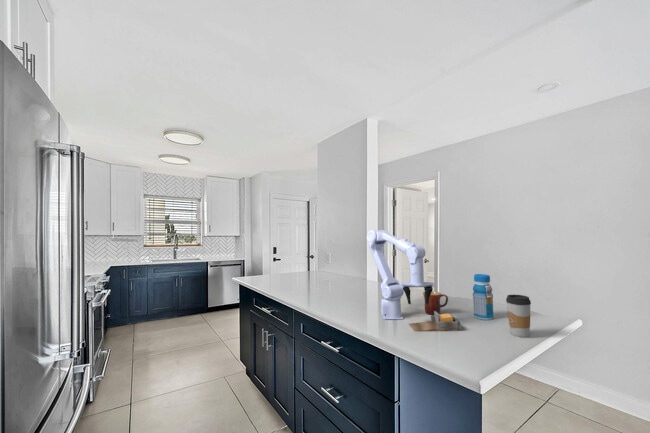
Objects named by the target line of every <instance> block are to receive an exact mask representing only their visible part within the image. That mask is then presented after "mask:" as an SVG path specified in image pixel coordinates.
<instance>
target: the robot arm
mask: <svg viewBox="0 0 650 433" xmlns="http://www.w3.org/2000/svg"><path fill="white" fill-rule="evenodd" d="M366 240H367V243H368V246H369V249H370V253H371V255H372V258H373V260H374V263H375V265H376V267H377V270H378V273H379V275H380V277H381V280H382V282H381V284H380V288H381V289H380V290H381V295H382V297H383V298H381V300H380V316H381V318H382V319H383V320H404V317H403V316H402V307H401V303H402V302H401V301H402V300H401V299H402V297H403V295H404V294H405V296H406V300H407V304H408V305H411V304H412V303H411V302H412V301H411V289H410V288H424V292H425V300H424V304H425V303H426V304H428V301H429V297H430V295H431V293H432V291H433V290H434V288H435V282H432V281H431V282H430V281H425V279H424V278H425V276H424V274H425V272H424V257H425V256H426V249H425V248H424V247H423V246H422V245H416V243H415V242H414V243H412V242H411V241H409V240H408V239H407V238H398V237H397V236H395V235H393V234H391V233H390V232H389V231H388V230H386V229H370V230H369V231H367V235H366ZM386 243H389V244H392V245H394V246H395V247H396V249H397V250H398V251H400V252H402V253H403V254H405V255H406V256H407V258H408V262H409V274H410V281H407V282H400V281H399V280H398V279H397V278H395V277H394V276H393V273H392V271H391V268H390V266H389V264H388V262H387V259H386V257H385V254H384V252H383V250H382V248H383V247H384V246H385V244H386ZM433 292H434V291H433Z"/></svg>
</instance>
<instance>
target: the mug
mask: <svg viewBox="0 0 650 433" xmlns="http://www.w3.org/2000/svg"><path fill="white" fill-rule="evenodd" d="M422 295H423V297H424V298H423V299H424V301H425V291H423V292H422ZM442 297H445V301H444V303H443V304H441V298H442ZM448 303H449V297H448V295H446V294H444V293H441V292H438V291H432V293H431V295H430V297H429V301H428V304H426V303H425V302H424V312H425V314H426V315H429V316H435V315H434V311H436V312H437V313H438V314H439V315H440V314H441V310H442V309H441V308H444V307H446V306H447V305H448Z"/></svg>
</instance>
